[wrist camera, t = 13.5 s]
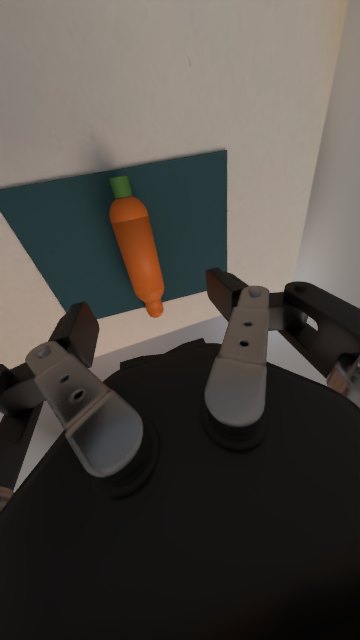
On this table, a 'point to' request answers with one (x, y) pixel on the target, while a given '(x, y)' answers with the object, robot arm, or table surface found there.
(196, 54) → the table surface
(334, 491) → the robot arm
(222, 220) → the cloth
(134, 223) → the carrot
